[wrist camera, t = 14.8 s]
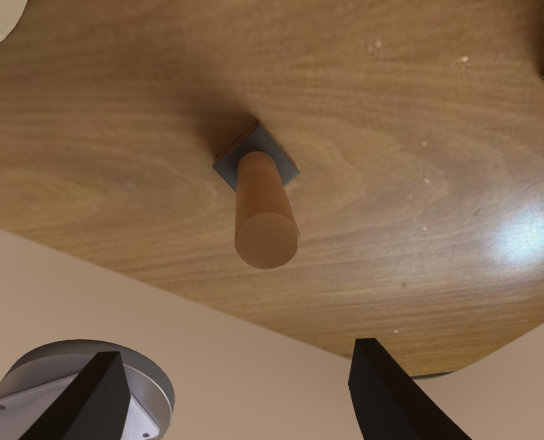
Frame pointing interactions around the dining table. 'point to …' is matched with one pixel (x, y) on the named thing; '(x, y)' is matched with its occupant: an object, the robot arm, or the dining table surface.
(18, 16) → the cream ceramic ramekin
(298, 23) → the dining table surface
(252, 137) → the wooden handle stamp
